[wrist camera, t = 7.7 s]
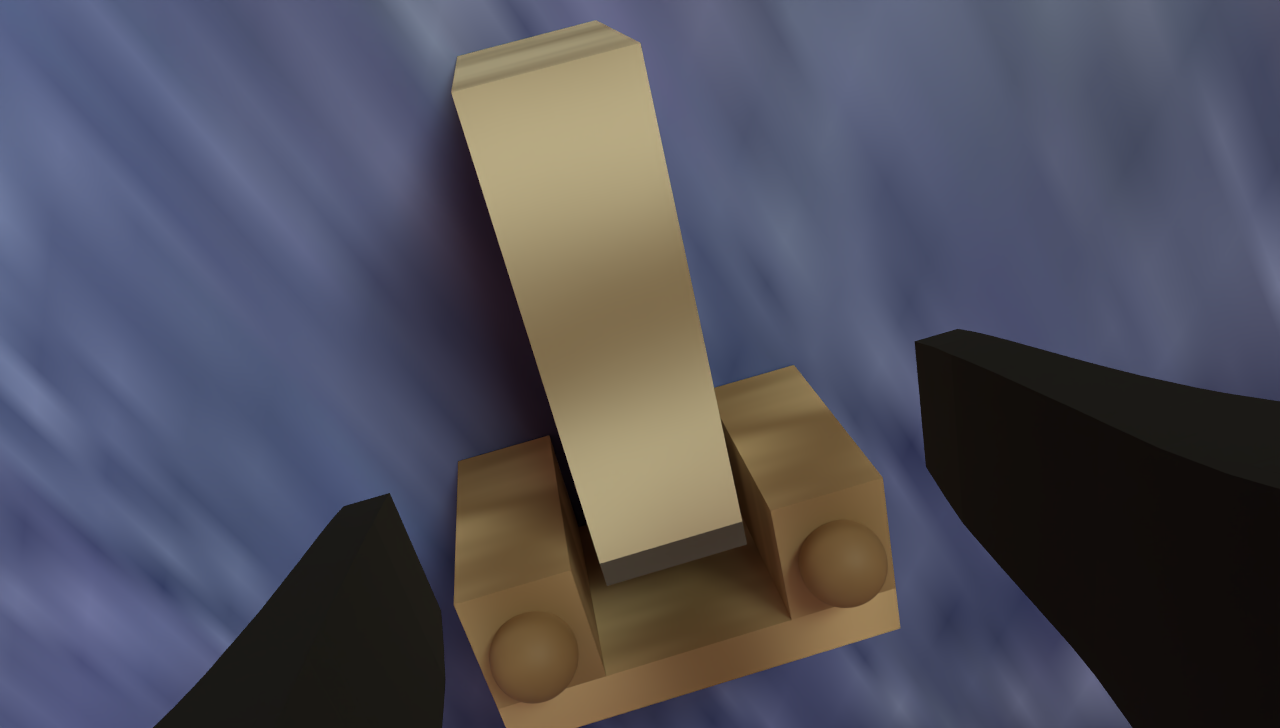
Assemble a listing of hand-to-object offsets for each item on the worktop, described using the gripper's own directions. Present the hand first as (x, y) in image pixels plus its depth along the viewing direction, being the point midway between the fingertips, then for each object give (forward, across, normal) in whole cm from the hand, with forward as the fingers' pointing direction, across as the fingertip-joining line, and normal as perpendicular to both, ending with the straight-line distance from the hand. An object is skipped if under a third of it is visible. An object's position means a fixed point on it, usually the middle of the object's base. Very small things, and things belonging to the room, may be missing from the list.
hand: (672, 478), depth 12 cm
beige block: (+10, 0, 0) cm, 10 cm away
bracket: (+10, 0, +6) cm, 12 cm away
